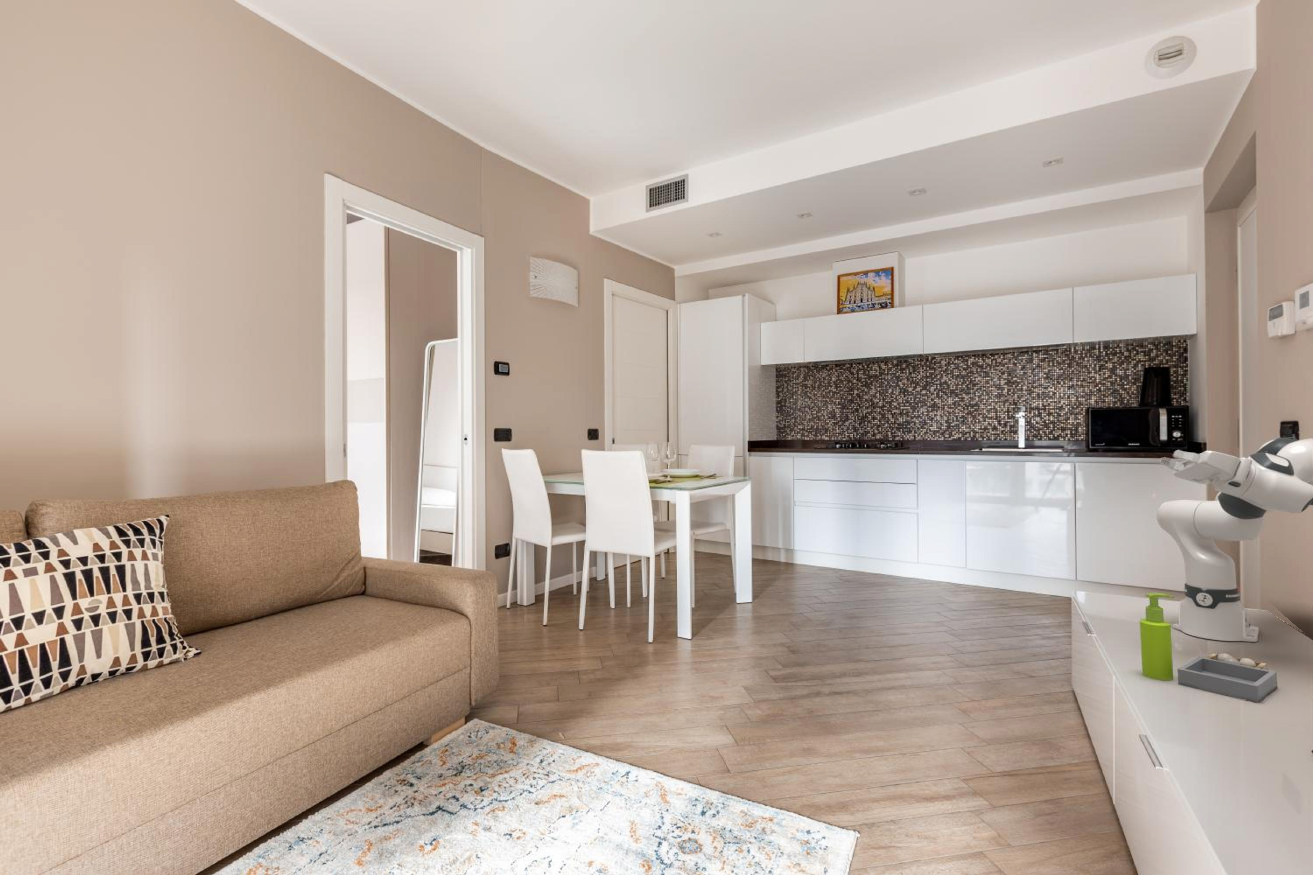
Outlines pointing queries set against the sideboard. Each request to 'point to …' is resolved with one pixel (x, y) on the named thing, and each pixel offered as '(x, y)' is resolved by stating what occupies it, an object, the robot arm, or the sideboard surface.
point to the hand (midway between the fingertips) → (1167, 456)
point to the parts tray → (1258, 664)
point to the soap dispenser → (1156, 641)
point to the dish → (1228, 679)
